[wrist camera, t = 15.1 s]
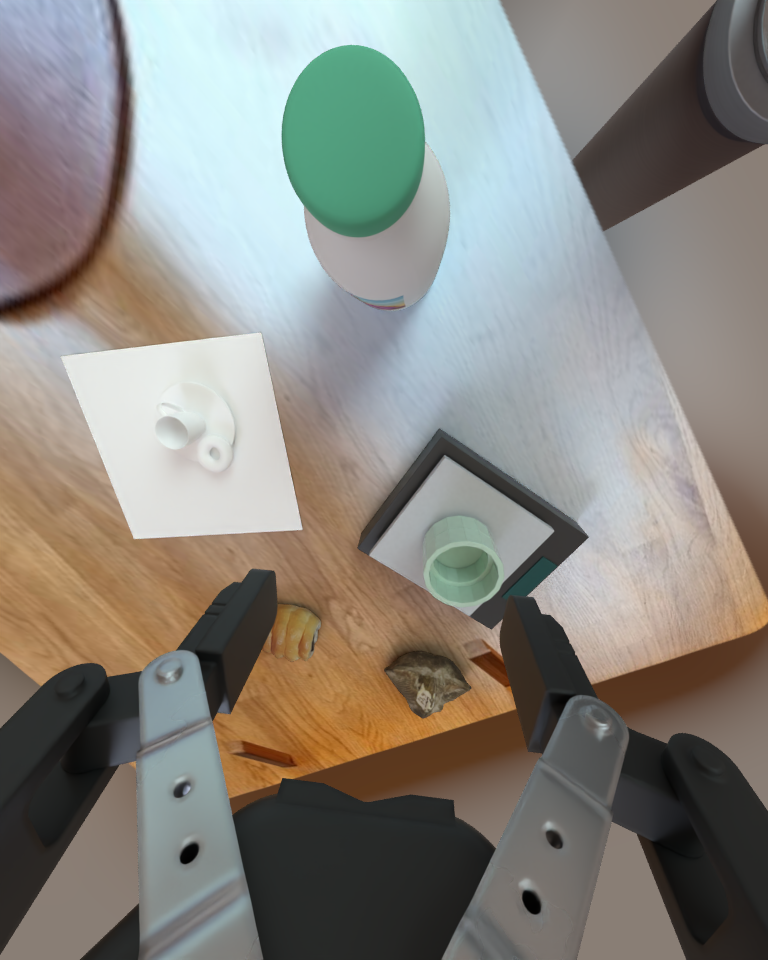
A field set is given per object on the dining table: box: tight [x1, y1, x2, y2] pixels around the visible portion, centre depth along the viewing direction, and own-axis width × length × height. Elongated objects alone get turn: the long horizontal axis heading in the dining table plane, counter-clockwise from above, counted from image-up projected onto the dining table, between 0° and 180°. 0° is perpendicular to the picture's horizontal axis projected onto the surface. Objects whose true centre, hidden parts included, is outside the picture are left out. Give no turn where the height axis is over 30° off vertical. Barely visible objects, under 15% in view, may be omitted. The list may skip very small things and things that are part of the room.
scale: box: [358, 429, 589, 629], centre depth 36 cm, size 14×17×5 cm
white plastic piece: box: [154, 381, 236, 473], centre depth 35 cm, size 9×8×4 cm
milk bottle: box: [282, 45, 450, 311], centre depth 21 cm, size 8×8×20 cm
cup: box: [422, 515, 504, 607], centre depth 32 cm, size 6×6×5 cm
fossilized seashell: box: [384, 651, 471, 718], centre depth 43 cm, size 8×7×10 cm
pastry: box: [262, 603, 321, 662], centre depth 43 cm, size 9×7×4 cm
